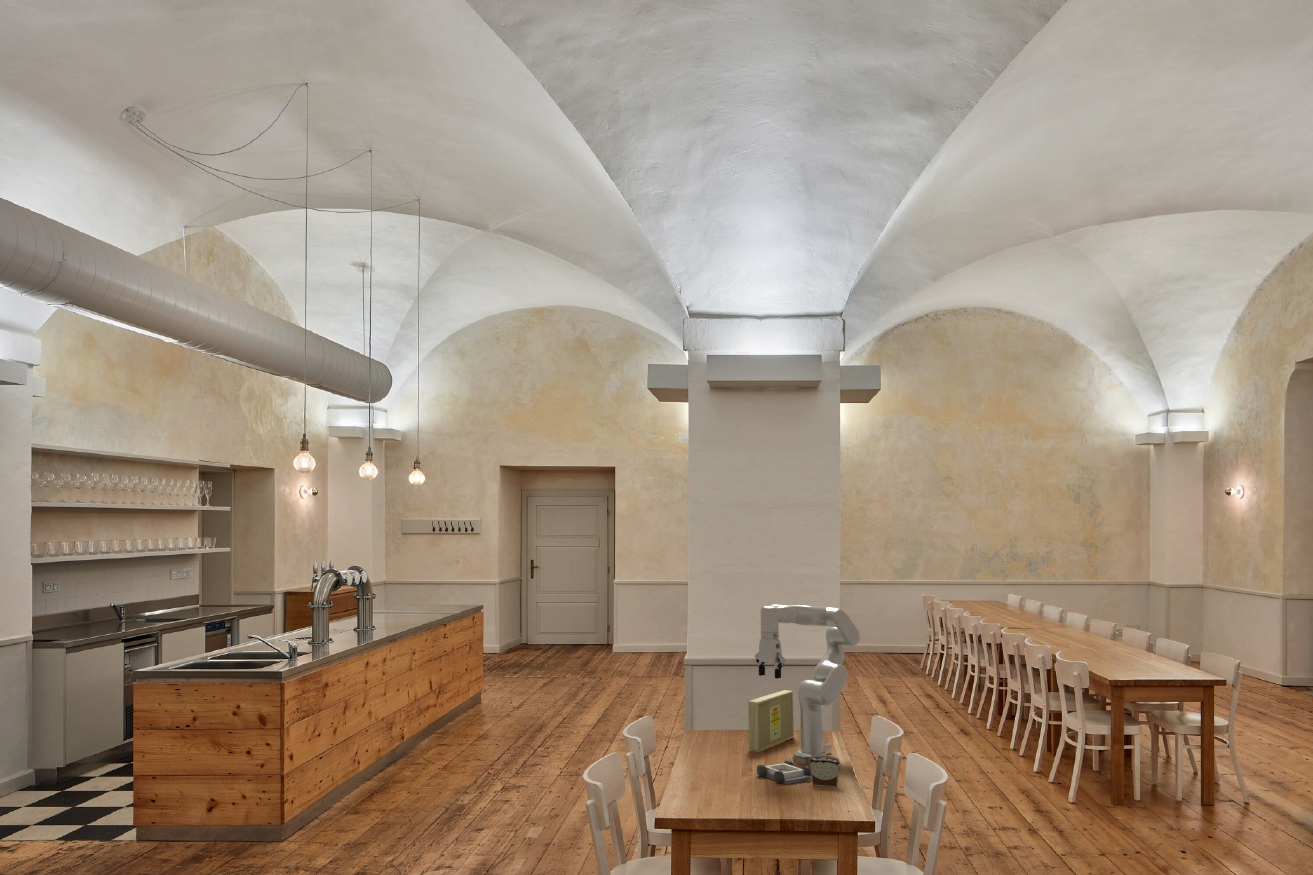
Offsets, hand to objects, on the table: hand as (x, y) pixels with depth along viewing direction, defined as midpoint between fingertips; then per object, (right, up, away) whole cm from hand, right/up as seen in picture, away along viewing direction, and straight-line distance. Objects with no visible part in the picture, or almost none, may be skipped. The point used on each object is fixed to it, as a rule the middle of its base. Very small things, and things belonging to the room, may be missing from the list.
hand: (769, 676), depth 392 cm
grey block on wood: (+12, -34, -16) cm, 39 cm away
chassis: (+2, -33, -27) cm, 42 cm away
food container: (+17, -32, -37) cm, 51 cm away
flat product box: (+5, -39, +30) cm, 49 cm away
